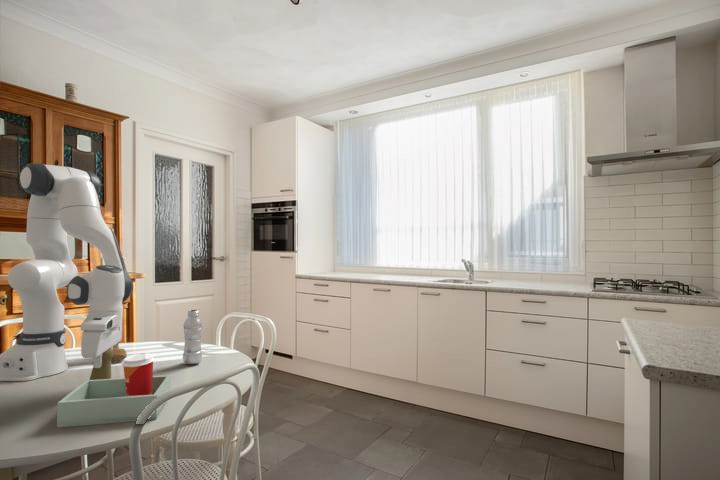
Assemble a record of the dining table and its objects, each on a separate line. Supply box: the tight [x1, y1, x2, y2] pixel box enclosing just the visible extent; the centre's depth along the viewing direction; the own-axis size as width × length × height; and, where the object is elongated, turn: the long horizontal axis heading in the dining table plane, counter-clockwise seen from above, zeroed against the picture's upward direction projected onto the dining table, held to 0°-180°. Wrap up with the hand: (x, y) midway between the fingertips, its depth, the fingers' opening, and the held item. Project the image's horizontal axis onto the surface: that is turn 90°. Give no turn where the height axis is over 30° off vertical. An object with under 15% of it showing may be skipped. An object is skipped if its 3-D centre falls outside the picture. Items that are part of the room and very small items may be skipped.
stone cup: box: [111, 342, 128, 364], centre depth 148 cm, size 15×12×15 cm
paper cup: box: [121, 353, 155, 396], centre depth 105 cm, size 8×8×14 cm
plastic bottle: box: [182, 309, 203, 365], centre depth 144 cm, size 6×7×20 cm
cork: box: [89, 349, 114, 380], centre depth 117 cm, size 6×6×11 cm
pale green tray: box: [56, 374, 172, 428], centre depth 104 cm, size 22×16×6 cm
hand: (102, 364), depth 117 cm, fingers closed on cork, 4 cm apart
